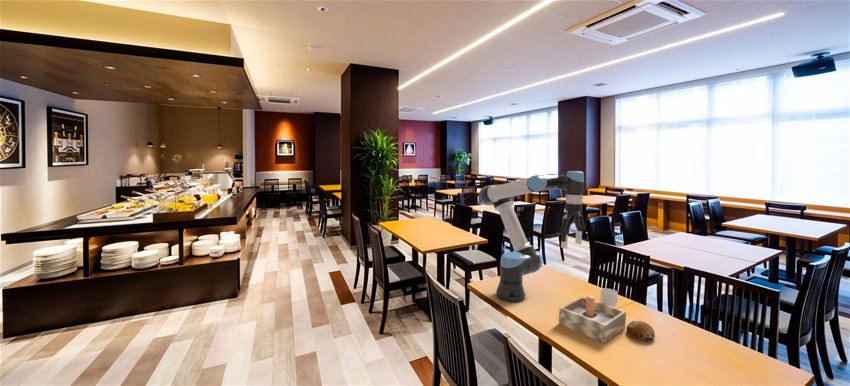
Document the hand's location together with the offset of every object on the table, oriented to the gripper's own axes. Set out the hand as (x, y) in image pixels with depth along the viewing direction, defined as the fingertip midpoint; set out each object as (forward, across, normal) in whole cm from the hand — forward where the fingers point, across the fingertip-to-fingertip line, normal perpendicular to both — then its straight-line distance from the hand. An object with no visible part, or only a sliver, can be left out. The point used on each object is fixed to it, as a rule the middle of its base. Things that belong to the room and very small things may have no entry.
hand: (571, 245), depth 164 cm
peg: (+32, -7, -14) cm, 35 cm away
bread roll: (+32, -1, -33) cm, 46 cm away
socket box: (+32, -9, -16) cm, 37 cm away
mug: (+32, +9, -16) cm, 37 cm away
